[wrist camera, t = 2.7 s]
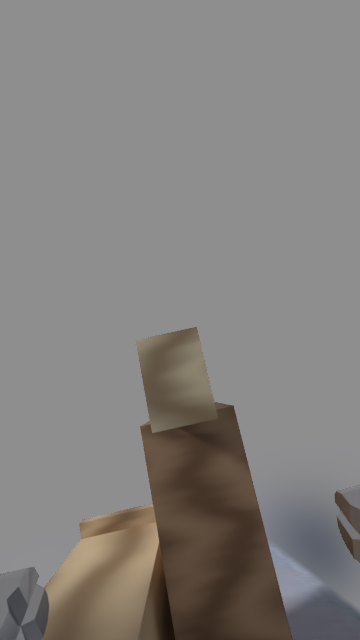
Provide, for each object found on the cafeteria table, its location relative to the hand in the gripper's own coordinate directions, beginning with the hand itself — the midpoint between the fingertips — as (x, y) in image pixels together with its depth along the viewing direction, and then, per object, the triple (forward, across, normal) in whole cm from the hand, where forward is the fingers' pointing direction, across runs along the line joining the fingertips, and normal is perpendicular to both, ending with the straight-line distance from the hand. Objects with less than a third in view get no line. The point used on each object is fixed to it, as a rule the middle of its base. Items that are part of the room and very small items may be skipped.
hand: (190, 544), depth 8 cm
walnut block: (+8, 0, +32) cm, 33 cm away
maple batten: (+16, 0, +6) cm, 17 cm away
